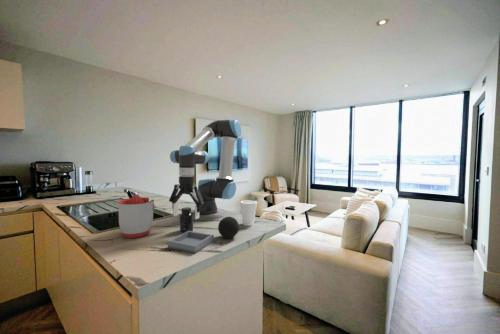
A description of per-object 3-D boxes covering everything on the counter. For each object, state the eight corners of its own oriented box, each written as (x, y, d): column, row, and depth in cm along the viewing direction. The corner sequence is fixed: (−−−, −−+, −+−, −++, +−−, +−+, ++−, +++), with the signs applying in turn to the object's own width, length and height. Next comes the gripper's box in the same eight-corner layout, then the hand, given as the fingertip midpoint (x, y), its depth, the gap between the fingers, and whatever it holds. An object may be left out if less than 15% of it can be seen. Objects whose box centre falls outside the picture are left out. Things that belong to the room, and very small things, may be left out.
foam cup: (250, 227, 120) (251, 204, 119) (237, 224, 125) (237, 202, 124) (259, 223, 128) (259, 201, 127) (246, 220, 133) (246, 199, 132)
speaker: (213, 238, 104) (213, 217, 104) (227, 232, 113) (227, 213, 112) (229, 243, 99) (230, 221, 98) (242, 236, 107) (243, 216, 106)
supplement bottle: (182, 228, 117) (182, 206, 117) (195, 229, 117) (195, 206, 116) (177, 233, 111) (177, 209, 110) (190, 233, 110) (190, 210, 109)
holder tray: (188, 236, 106) (188, 230, 106) (213, 241, 101) (213, 234, 100) (167, 247, 93) (167, 240, 93) (195, 253, 88) (195, 246, 87)
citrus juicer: (162, 233, 110) (162, 193, 109) (124, 243, 97) (124, 198, 96) (149, 226, 120) (149, 190, 119) (113, 234, 107) (113, 194, 106)
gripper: (162, 175, 113) (161, 215, 114) (202, 177, 104) (202, 221, 105) (172, 174, 120) (172, 212, 121) (211, 176, 111) (210, 217, 112)
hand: (186, 216), depth 113 cm, fingers open, 13 cm apart
